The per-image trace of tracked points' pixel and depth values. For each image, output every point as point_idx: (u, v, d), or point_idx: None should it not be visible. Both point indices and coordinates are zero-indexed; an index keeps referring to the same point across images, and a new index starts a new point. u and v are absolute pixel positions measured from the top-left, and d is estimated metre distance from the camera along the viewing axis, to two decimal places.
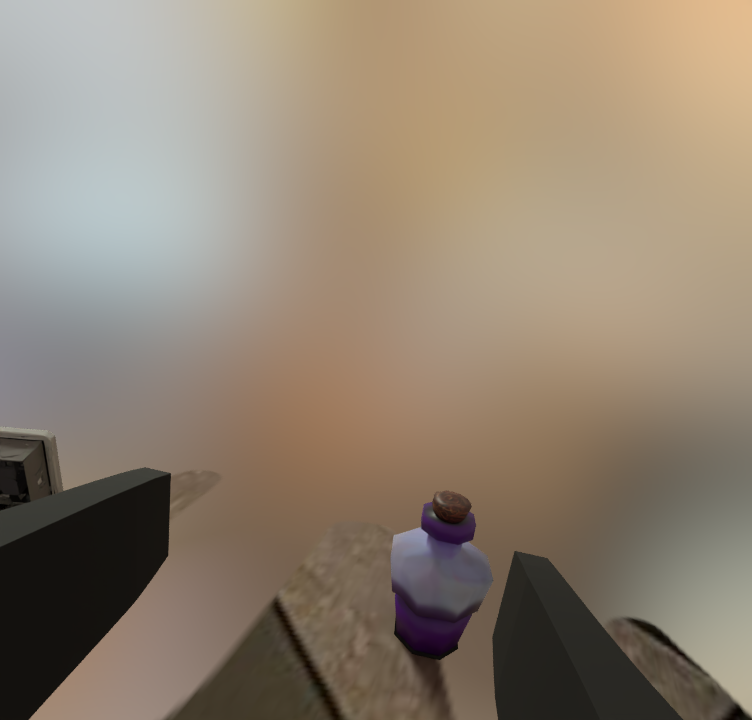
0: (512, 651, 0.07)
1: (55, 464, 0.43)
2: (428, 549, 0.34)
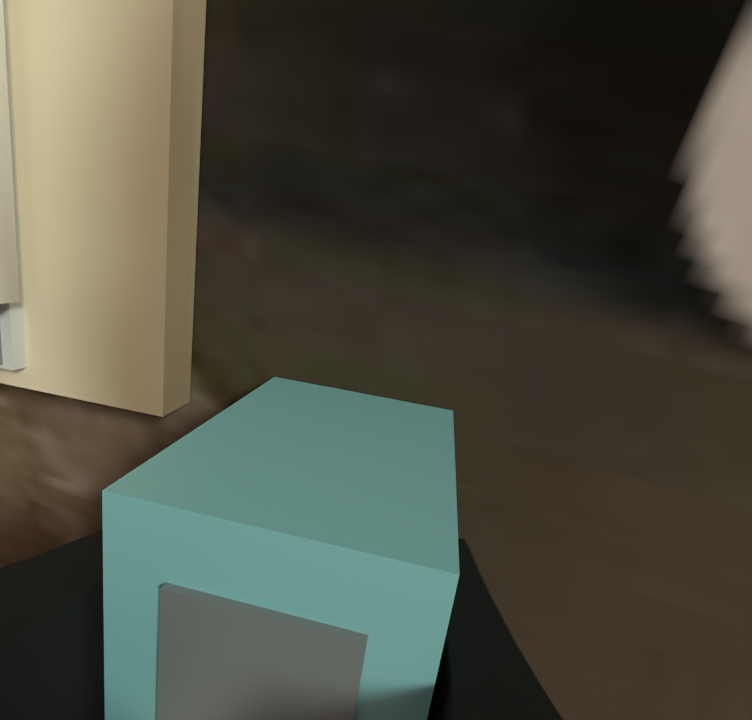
0: None
1: None
2: None
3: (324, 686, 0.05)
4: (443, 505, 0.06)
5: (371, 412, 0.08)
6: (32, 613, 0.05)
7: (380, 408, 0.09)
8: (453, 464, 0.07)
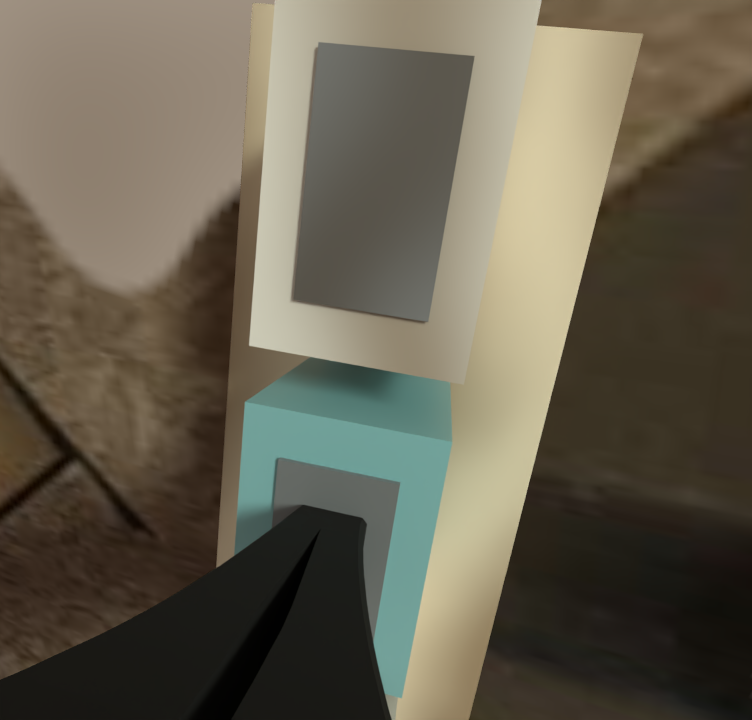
0: None
1: None
2: None
3: (373, 516, 0.08)
4: (443, 417, 0.09)
5: (392, 373, 0.12)
6: (201, 660, 0.04)
7: None
8: (449, 400, 0.10)
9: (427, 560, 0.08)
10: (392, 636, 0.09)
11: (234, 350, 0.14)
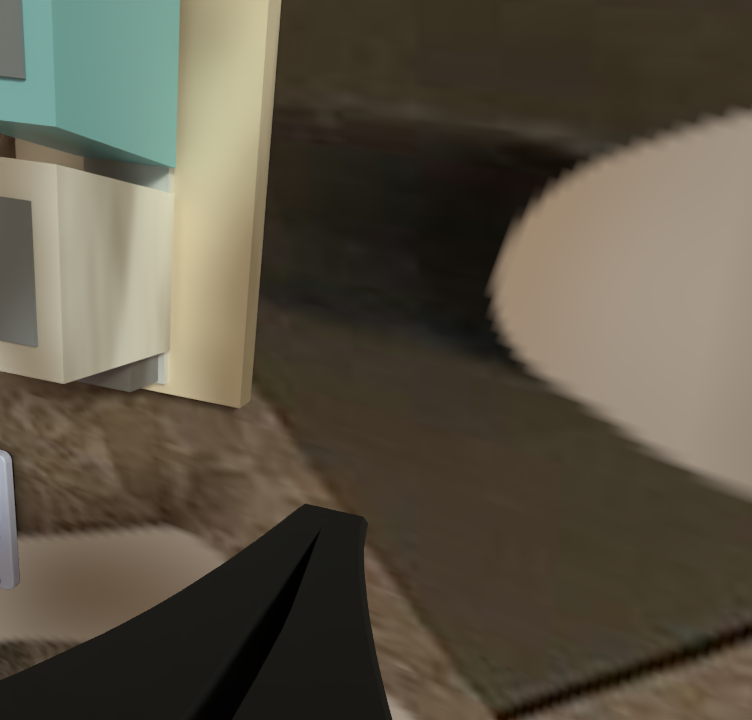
0: None
1: None
2: None
3: None
4: None
5: None
6: (202, 661, 0.04)
7: None
8: None
9: None
10: (38, 58, 0.11)
11: None
